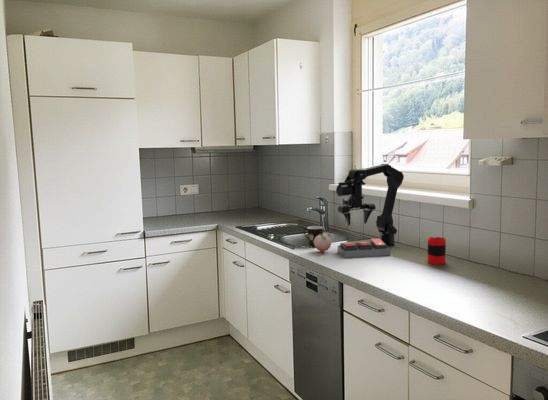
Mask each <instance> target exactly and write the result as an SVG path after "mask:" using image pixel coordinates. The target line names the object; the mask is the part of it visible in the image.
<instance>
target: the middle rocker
mask: <svg viewBox="0 0 548 400" xmlns="http://www.w3.org/2000/svg"><path fill="white" fill-rule="evenodd" d="M356 242H357V244H359V245H370V241H356Z"/></svg>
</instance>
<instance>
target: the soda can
mask: <svg viewBox="0 0 548 400" xmlns="http://www.w3.org/2000/svg"><path fill="white" fill-rule="evenodd" d="M446 242H447V240H446V239H445V237H444V236H443V235H439V234H438V235H437V234H436V235H429V237H428V239H427V263H428V264H431V265H436V266H437V265H438V266H439V265H445V263H446V250H447V249H446V246H447V245H446Z"/></svg>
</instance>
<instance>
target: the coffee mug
mask: <svg viewBox="0 0 548 400" xmlns="http://www.w3.org/2000/svg"><path fill="white" fill-rule="evenodd" d="M306 230H307V234H306V233H305V231H306ZM322 233H323V234H324V226H319V225H312V226H307V227H306V228H304V229H303V235H304V236H305V238H307V239H308V244H309V247H310V248H316V247H315V245H314V239H315V237H316V236H318V235H319V234H322ZM311 246H312V247H311Z"/></svg>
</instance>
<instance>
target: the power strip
mask: <svg viewBox="0 0 548 400" xmlns="http://www.w3.org/2000/svg"><path fill="white" fill-rule="evenodd" d="M357 242H358V241H356V242H354V243H355V246H344V245H343V244H342V243H343V242H341V243H339V244H338V245H337V253H338V254H339V255H340V256H341V257H342V258H344V259H355V258H368V257H369V258H370V257H371V258H372V257H385V256H387V257H388V256H391V247H389V246H387V245H386V244H385V243H384V244H385V245H377V246H376V245H375V244H373V243H372V242H371V240H370V241H369V242H370V245H359V244H357Z"/></svg>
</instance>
